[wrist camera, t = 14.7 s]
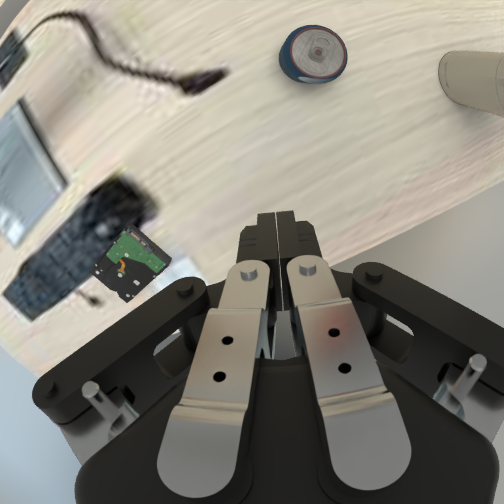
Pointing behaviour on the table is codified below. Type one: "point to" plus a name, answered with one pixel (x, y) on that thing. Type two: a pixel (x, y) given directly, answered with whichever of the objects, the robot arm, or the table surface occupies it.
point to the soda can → (313, 55)
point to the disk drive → (130, 263)
